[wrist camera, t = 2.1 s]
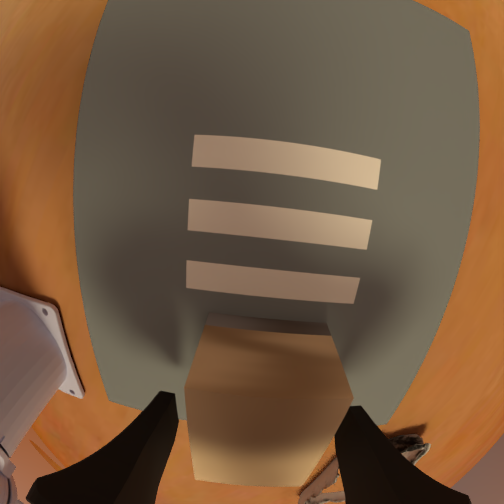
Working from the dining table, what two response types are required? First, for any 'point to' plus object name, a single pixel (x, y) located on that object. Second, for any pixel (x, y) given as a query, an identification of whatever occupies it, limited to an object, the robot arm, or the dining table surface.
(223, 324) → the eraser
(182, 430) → the dining table surface
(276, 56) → the slate board
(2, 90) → the dining table surface
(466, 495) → the robot arm
